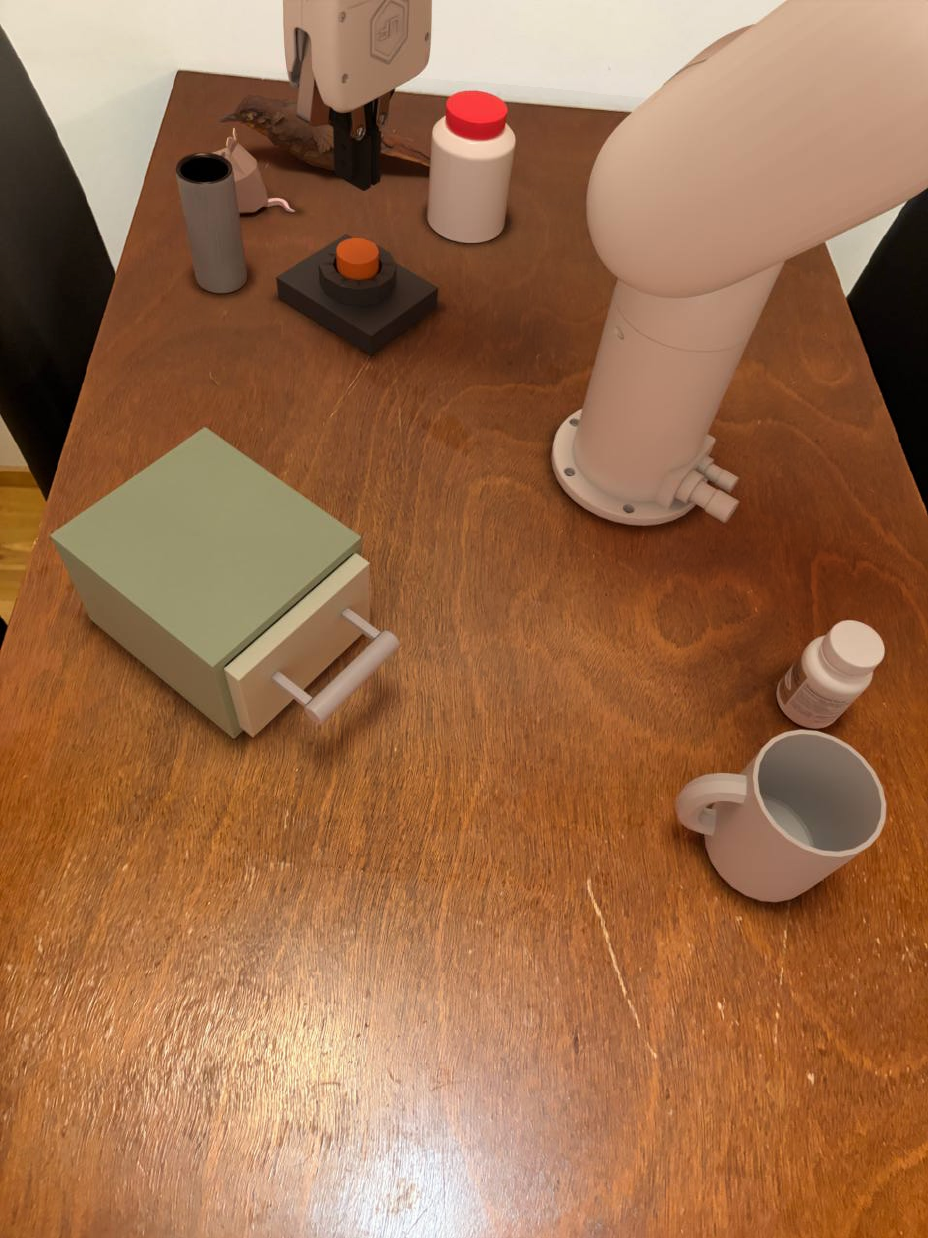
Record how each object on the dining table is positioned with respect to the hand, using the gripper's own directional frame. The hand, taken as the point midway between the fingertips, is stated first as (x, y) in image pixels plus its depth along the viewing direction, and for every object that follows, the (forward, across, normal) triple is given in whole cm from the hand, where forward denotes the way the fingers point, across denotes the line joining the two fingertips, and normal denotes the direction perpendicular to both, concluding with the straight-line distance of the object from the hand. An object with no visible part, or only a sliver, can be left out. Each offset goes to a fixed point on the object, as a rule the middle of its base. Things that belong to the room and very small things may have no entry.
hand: (357, 178), depth 67 cm
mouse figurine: (+14, +6, +19) cm, 24 cm away
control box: (+13, +2, +2) cm, 14 cm away
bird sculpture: (+14, +18, +18) cm, 29 cm away
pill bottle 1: (+14, +19, +3) cm, 24 cm away
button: (+10, +2, +2) cm, 10 cm away
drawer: (+12, -29, -18) cm, 36 cm away
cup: (+13, -20, -49) cm, 54 cm away
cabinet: (+13, -29, -14) cm, 35 cm away
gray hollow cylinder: (+14, -4, +13) cm, 19 cm away
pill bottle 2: (+13, -8, -48) cm, 50 cm away
